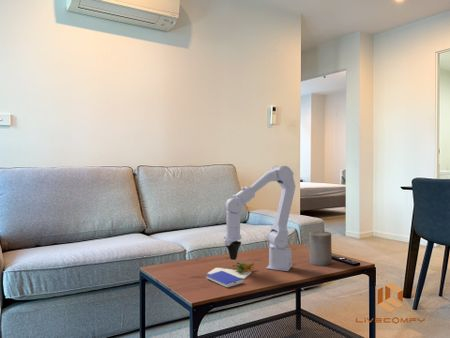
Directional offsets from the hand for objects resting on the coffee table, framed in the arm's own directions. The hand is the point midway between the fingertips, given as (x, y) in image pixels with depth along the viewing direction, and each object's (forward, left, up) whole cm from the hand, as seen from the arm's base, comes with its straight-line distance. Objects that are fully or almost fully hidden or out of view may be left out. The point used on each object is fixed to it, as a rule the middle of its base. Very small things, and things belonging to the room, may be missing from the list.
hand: (233, 259), depth 152 cm
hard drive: (-2, +14, -5) cm, 15 cm away
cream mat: (0, +4, -5) cm, 6 cm away
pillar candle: (-32, -27, -5) cm, 42 cm away
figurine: (-1, -2, -3) cm, 4 cm away
